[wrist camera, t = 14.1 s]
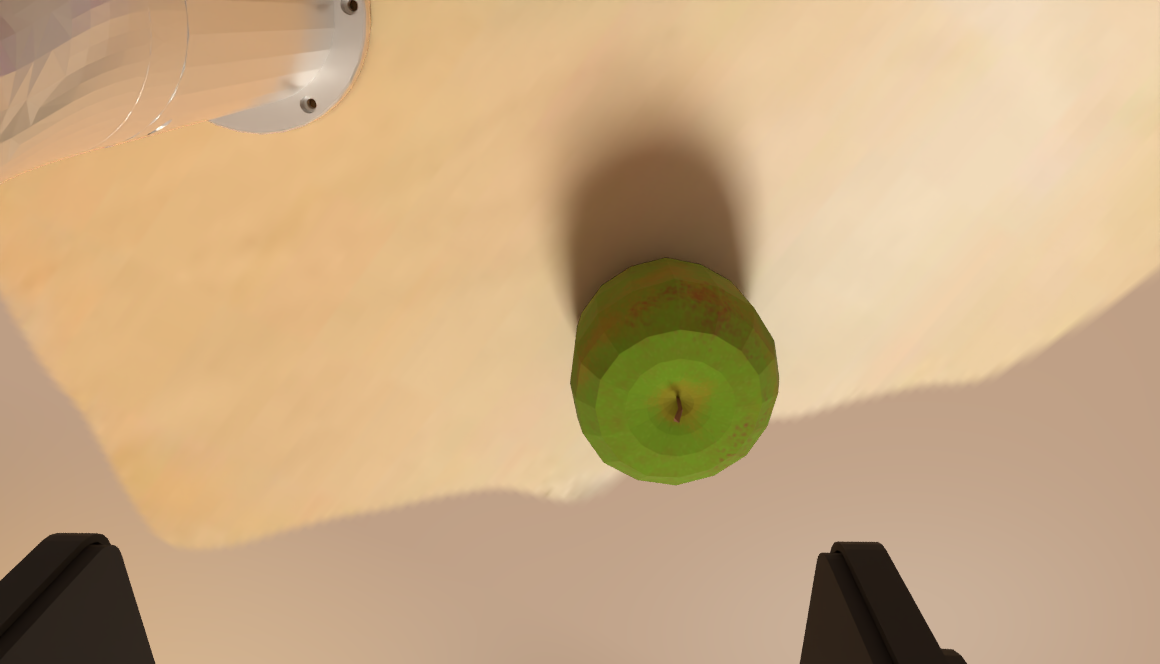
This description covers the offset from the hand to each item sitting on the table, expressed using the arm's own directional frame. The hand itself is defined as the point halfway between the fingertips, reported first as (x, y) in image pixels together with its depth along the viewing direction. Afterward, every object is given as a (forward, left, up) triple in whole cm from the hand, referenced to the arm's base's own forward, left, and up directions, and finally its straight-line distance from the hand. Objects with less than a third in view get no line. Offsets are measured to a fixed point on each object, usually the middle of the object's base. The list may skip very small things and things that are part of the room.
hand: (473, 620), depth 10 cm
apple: (+6, -10, -34) cm, 35 cm away
